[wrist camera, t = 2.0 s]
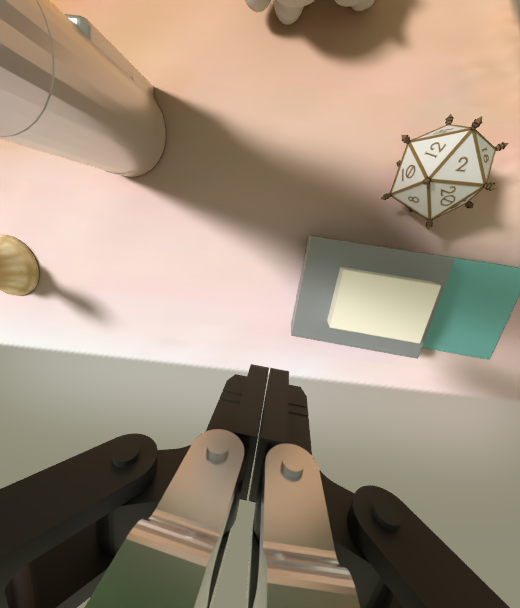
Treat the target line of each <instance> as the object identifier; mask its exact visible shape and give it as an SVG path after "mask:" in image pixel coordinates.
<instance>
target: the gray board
mask: <svg viewBox="0 0 520 608" xmlns="http://www.w3.org/2000/svg"><path fill="white" fill-rule="evenodd" d="M454 260H455V259H453V258H448V257H443V256H438V255H433V254H427V253H420V252H414V251H407V250H401V249H394V248H388V247H381V246H375V245H368V244H362V243H355V242H349V241H342V240H336V239H329V238H323V237H317V236H310V235H309V236H308V241H307V246H306V251H305V257H304V262H303V267H302V272H301V277H300V282H299V287H298V292H297V297H296V302H295V307H294V313H293V318H292V323H291V336H296V337H302V338H307V339H313V340H318V341H324V342H329V343H335V344H340V345H346V346H351V347H357V348H362V349H368V350H373V351H379V352H384V353H390V354H395V355H401V356H406V357H412V358H417V359H418V357H419V354H420V351H421V349H422V346H423V343H424V341H425V338H426V335H427V333H428V330H429V327H430V325H431V322H432V319H433V317H434V314H435V311H436V309H437V306H438V303H439V301H440V298H441V295H442V292H443V290H444V287H445V284H446V282H447V279H448V276H449V274H450V271H451V268H452V266H453V263H454ZM340 267H345V268H351V269H357V270H364V271H370V272H376V273H382V274H388V275H395V276H401V277H407V278H413V279H419V280H426V281H431V282H433V283H436V284H438V285H441V288H440V290H439V293H438V296H437V299H436V301H435V304H434V307H433V309H432V312H431V315H430V318H429V320H428V323H427V326H426V328H425V331H424V334H423V337H422V339H421V342H420V343H414V342H408V341H403V340H397V339H392V338H386V337H380V336H375V335H369V334H364V333H358V332H352V331H347V330H341V329H336V328H330V327H329V324H328V322H327V319H328V315H329V311H330V307H331V303H332V299H333V294H334V290H335V286H336V282H337V278H338V274H339V269H340Z"/></svg>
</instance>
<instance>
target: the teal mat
mask: <svg viewBox="0 0 520 608" xmlns="http://www.w3.org/2000/svg"><path fill="white" fill-rule="evenodd" d="M438 256H440V255H438ZM443 257H446V256H443ZM448 258H452V257H448ZM453 259H455V260H454V263H453V266H452V268H451V271H450V274H449V276H448V279H447V282H446V284H445V287H444V290H443V292H442V295H441V298H440V301H439V303H438V306H437V309H436V311H435V314H434V317H433V319H432V322H431V325H430V327H429V330H428V333H427V335H426V338H425V341H424V343H423V346H422V348H427V349H433V350H438V351H444V352H450V353H455V354H461V355H466V356H472V357H478V358H483V359H490V357H491V354H492V352H493V350H494V348H495V346H496V344H497V342H498V340H499V337H500V335H501V333H502V331H503V329H504V327H505V325H506V322H507V320H508V318H509V316H510V314H511V312H512V310H513V307H514V305H515V303H516V301H517V299H518V297H519V295H520V268H517V267H511V266H504V265H498V264H491V263H485V262H478V261H472V260H465V259H459V258H453Z"/></svg>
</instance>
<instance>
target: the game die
mask: <svg viewBox="0 0 520 608" xmlns="http://www.w3.org/2000/svg"><path fill="white" fill-rule="evenodd" d="M453 118H454V117H452V115H451V114H450V115H449V117H448V118H447V119H446V122H445V123H446V125H445V126H443V127H441V128H439V129H436V130H434V131H432V132H429V133H427V134H425V135H422V136H420V137H418V138H415V139H413V140H410V137H408V135H402V141H404V143H407V145H406V148H405V151H404V154H403V157H402V160H401V161H400V160H399V161H398V162H397V166H399V169H398V171H397V174H396V177H395V180H394V183H393V186H392V189H391V192H390V193H388V194H387V193H386V194H385V195H383V197H382V198H381V199H384V200H386V199H388V198H389V197H393V198H394V199H396V200H397V201H399V202H400V203H402V204H404V205H405V206H407V207H408V208H410V212H411V211H415V212H416V213H418V214H419V215H421V216H422V217H424V218H425V219H427V220H428V222H427V223H426V227H427V229H428V230H429V229H430V228H431V227H432V226H433V225H432V224H433V223H432V220H433V219H435V218H437V217H439V216H441V215H444V214H446V213H448V212H450V211H452V210H454V209H456V208H458V207H460V206H462V205H464V204H465V206H466V207H467V208H473V203H472V202H470V200H471V199H472V198H473V197H474V196H475V195H476V194H477V193H479V192H480V191H481V190H482V189H483V188H485V189H487V190H490V191H491V190H494V189H497V187H496V185H495V183H492V182H491V183H487V181H488V177H489V173H490V170H491V166H492V162H493V158H494V155H495V151H498V150H499V151H500V150H501V149H504V148H505V147H506V146H507V144H508V143H503V142H502V143H501V144H498V145H497V146H496V147H494V146H493V145H492V144H491V143H490V142H489V141H488V140H486V139H485V138H484V137H483V136H482V135H481V134H480V133H479V132H478V131H477V130H476V128H477V127H479V126H480V124H482V117H480V118H478V119H475V120H474V122H473V123H472V127H465V126H458V125H451V123H452V121H453Z"/></svg>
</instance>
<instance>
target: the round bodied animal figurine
mask: <svg viewBox="0 0 520 608" xmlns="http://www.w3.org/2000/svg"><path fill="white" fill-rule="evenodd" d="M245 1H246V3H247V5H248V6H249V7H250V8H251V9H252V10H253V11H255V12H261V11H263V10H265V9H266V8H267V7H268V5H269V3H270V1H271V0H245ZM314 1H315V0H275V1H274V7H275V12H276V15H277V17H278V19H279V20H280V21H281V22H282V23H283V24H286V25H289V24H292V23H294V22H295V21H296V20H297V19H298V18H299V16H300V15H301V13H302V10H303V7H304V6H306V5H308V4H310V3H312V2H314ZM334 1H335V2H336V3H337V4H339V5H341V6H345V7H349V6H351V8H352V9H353V10H355V11H363V10H365V9H367V8H370V7H371V6H372V5H373V4H374V1H375V0H334Z"/></svg>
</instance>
